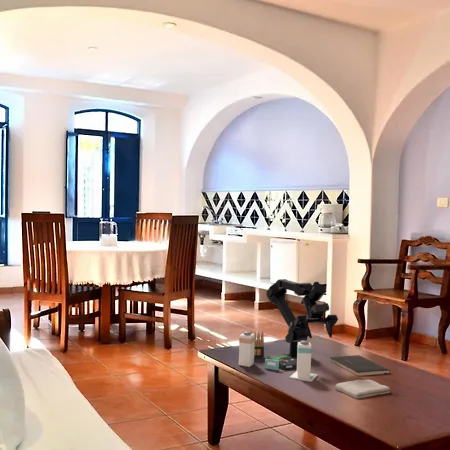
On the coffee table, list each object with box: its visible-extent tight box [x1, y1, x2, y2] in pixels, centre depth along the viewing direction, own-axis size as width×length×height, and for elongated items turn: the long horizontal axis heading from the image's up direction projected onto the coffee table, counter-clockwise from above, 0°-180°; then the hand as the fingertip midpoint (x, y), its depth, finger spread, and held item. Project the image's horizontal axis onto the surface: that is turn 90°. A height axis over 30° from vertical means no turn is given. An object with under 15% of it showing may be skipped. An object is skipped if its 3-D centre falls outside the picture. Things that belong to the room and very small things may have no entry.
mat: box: [289, 370, 318, 383], centre depth 228 cm, size 9×9×1 cm
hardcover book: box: [329, 354, 391, 377], centre depth 246 cm, size 16×23×2 cm
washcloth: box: [334, 378, 391, 399], centre depth 213 cm, size 12×18×3 cm, turn 120°
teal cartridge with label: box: [264, 358, 280, 371], centre depth 237 cm, size 1×6×4 cm, turn 65°
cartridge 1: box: [238, 331, 255, 368], centre depth 243 cm, size 5×5×14 cm
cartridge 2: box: [296, 340, 312, 378], centre depth 228 cm, size 5×5×14 cm
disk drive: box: [265, 354, 297, 371], centre depth 246 cm, size 10×3×15 cm
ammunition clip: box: [242, 330, 265, 359], centre depth 255 cm, size 11×2×12 cm, turn 105°
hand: (321, 337), depth 240 cm, fingers open, 9 cm apart
